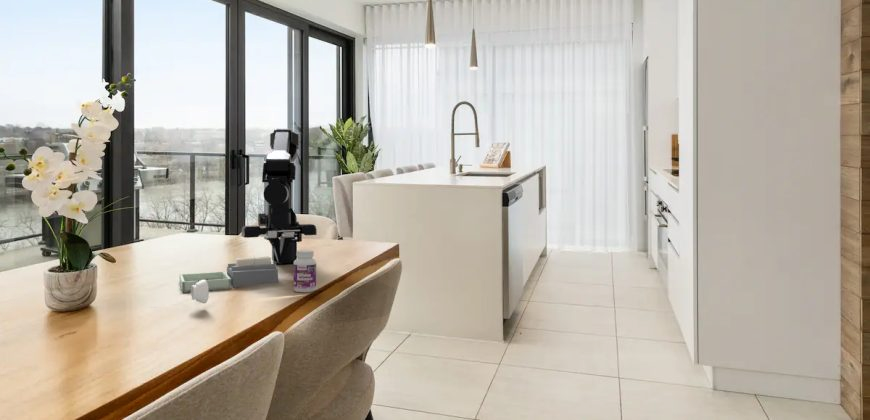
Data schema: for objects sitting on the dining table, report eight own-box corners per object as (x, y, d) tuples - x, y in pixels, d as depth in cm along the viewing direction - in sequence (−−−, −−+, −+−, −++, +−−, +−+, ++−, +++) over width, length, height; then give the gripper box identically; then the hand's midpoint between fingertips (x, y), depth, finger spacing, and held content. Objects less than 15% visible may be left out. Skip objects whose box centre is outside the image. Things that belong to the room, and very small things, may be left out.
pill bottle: (296, 293, 131) (296, 252, 131) (291, 289, 136) (290, 250, 136) (319, 291, 134) (318, 251, 134) (313, 288, 139) (312, 249, 138)
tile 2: (268, 265, 150) (267, 256, 150) (270, 267, 147) (270, 258, 147) (252, 266, 149) (252, 257, 149) (255, 268, 145) (255, 258, 145)
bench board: (269, 278, 155) (269, 260, 154) (278, 284, 144) (277, 265, 144) (227, 281, 150) (226, 262, 149) (233, 288, 139) (232, 268, 139)
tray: (224, 280, 150) (224, 271, 150) (231, 288, 138) (231, 278, 138) (179, 284, 145) (179, 274, 145) (182, 292, 133) (182, 282, 133)
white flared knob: (209, 304, 119) (209, 281, 119) (194, 306, 117) (194, 282, 117) (205, 300, 123) (204, 278, 123) (190, 302, 121) (190, 279, 121)
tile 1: (251, 266, 148) (250, 257, 148) (253, 268, 145) (253, 258, 145) (235, 267, 147) (235, 258, 147) (237, 269, 143) (237, 259, 143)
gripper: (306, 203, 161) (306, 257, 161) (238, 204, 152) (238, 261, 153) (316, 204, 151) (317, 262, 151) (244, 205, 142) (245, 266, 143)
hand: (279, 262), depth 150 cm, fingers closed
